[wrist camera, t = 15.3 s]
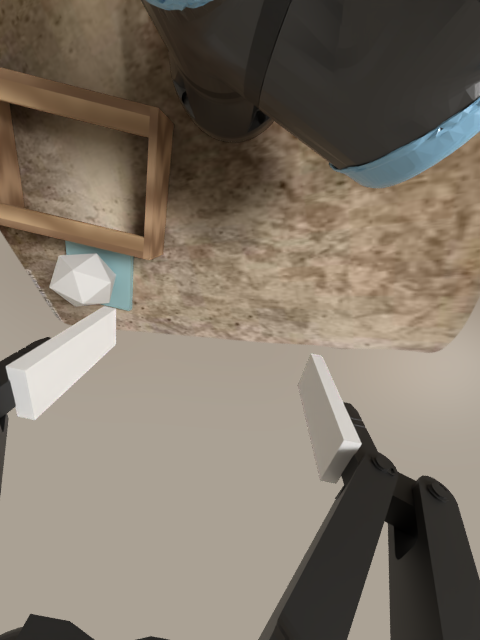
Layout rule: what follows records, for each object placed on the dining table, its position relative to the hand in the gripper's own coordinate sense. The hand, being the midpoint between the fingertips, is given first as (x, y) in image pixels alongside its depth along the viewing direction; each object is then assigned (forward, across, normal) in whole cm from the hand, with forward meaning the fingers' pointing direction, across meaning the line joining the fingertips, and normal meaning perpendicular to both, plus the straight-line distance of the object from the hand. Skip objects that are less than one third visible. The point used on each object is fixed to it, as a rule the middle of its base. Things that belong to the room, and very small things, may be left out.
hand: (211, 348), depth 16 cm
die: (+26, -23, -7) cm, 36 cm away
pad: (+27, -24, -7) cm, 36 cm away
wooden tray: (+27, -25, +8) cm, 37 cm away
